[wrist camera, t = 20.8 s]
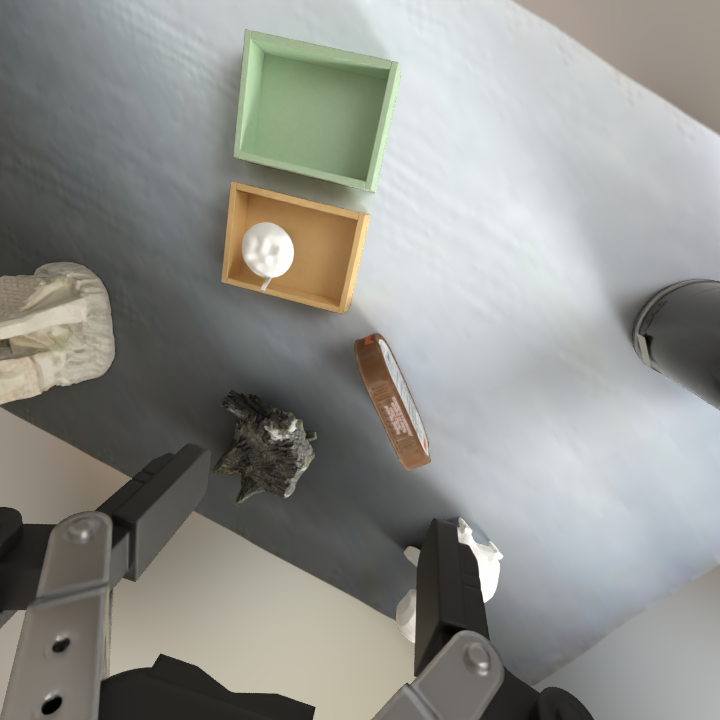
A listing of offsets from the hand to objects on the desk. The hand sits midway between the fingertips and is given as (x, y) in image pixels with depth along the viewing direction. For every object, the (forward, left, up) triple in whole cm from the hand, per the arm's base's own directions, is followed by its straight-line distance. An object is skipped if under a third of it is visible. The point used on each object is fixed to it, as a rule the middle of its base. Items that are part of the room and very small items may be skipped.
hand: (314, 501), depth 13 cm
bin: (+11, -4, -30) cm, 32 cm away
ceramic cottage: (+40, +12, -30) cm, 52 cm away
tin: (-3, +8, -30) cm, 31 cm away
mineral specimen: (+11, +19, -30) cm, 37 cm away
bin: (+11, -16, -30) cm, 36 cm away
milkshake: (+11, -4, -30) cm, 32 cm away
